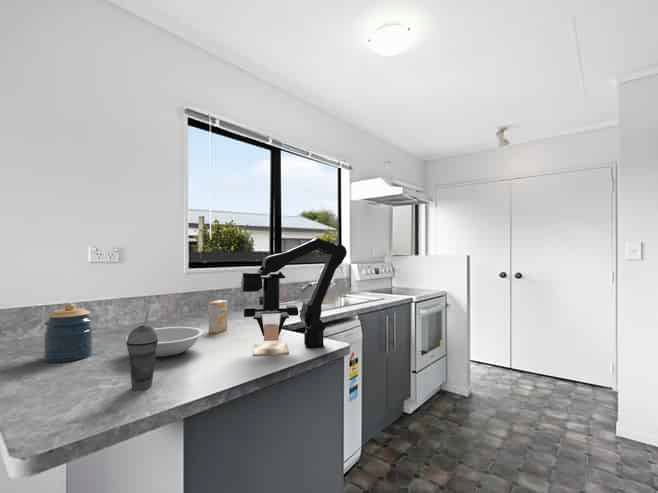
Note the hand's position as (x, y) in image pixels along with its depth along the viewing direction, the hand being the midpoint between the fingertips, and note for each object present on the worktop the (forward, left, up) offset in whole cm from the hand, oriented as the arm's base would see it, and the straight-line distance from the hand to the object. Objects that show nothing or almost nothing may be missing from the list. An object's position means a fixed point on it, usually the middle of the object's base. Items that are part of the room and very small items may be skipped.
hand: (271, 335), depth 125 cm
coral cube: (0, 0, -1) cm, 1 cm away
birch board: (0, 0, -5) cm, 5 cm away
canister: (+65, -2, -5) cm, 65 cm away
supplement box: (+22, -33, -5) cm, 40 cm away
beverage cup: (+33, +29, -5) cm, 44 cm away
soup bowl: (+35, -1, -5) cm, 36 cm away
